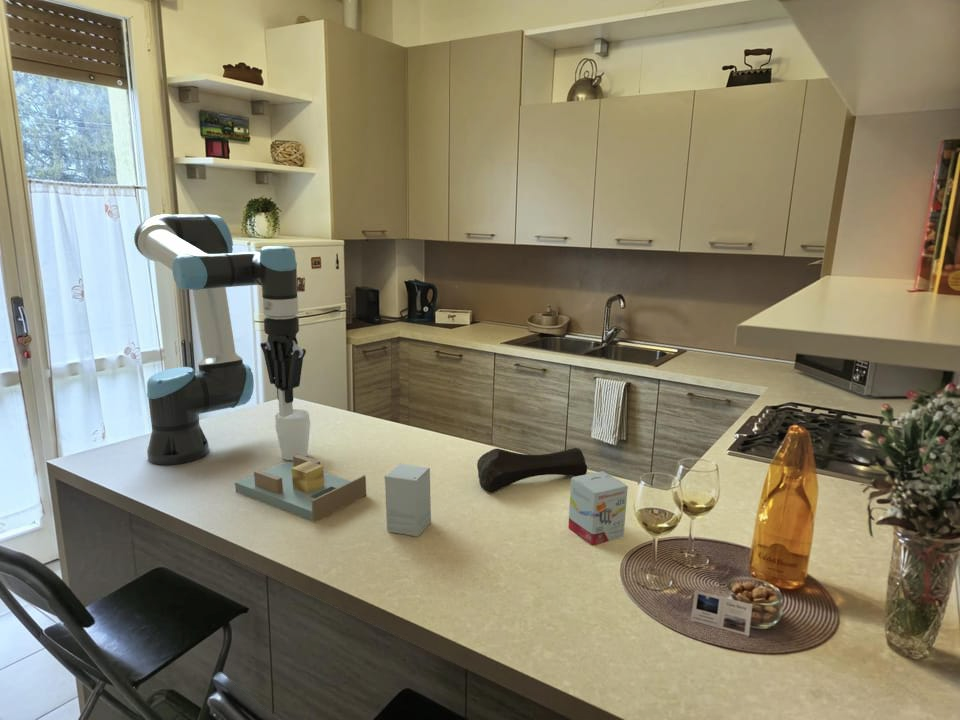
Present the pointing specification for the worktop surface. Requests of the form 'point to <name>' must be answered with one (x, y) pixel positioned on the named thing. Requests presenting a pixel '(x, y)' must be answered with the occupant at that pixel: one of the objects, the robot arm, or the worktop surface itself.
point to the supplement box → (408, 499)
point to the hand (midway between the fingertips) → (286, 414)
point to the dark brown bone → (526, 466)
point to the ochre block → (308, 477)
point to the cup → (293, 433)
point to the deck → (312, 506)
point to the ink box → (597, 507)
